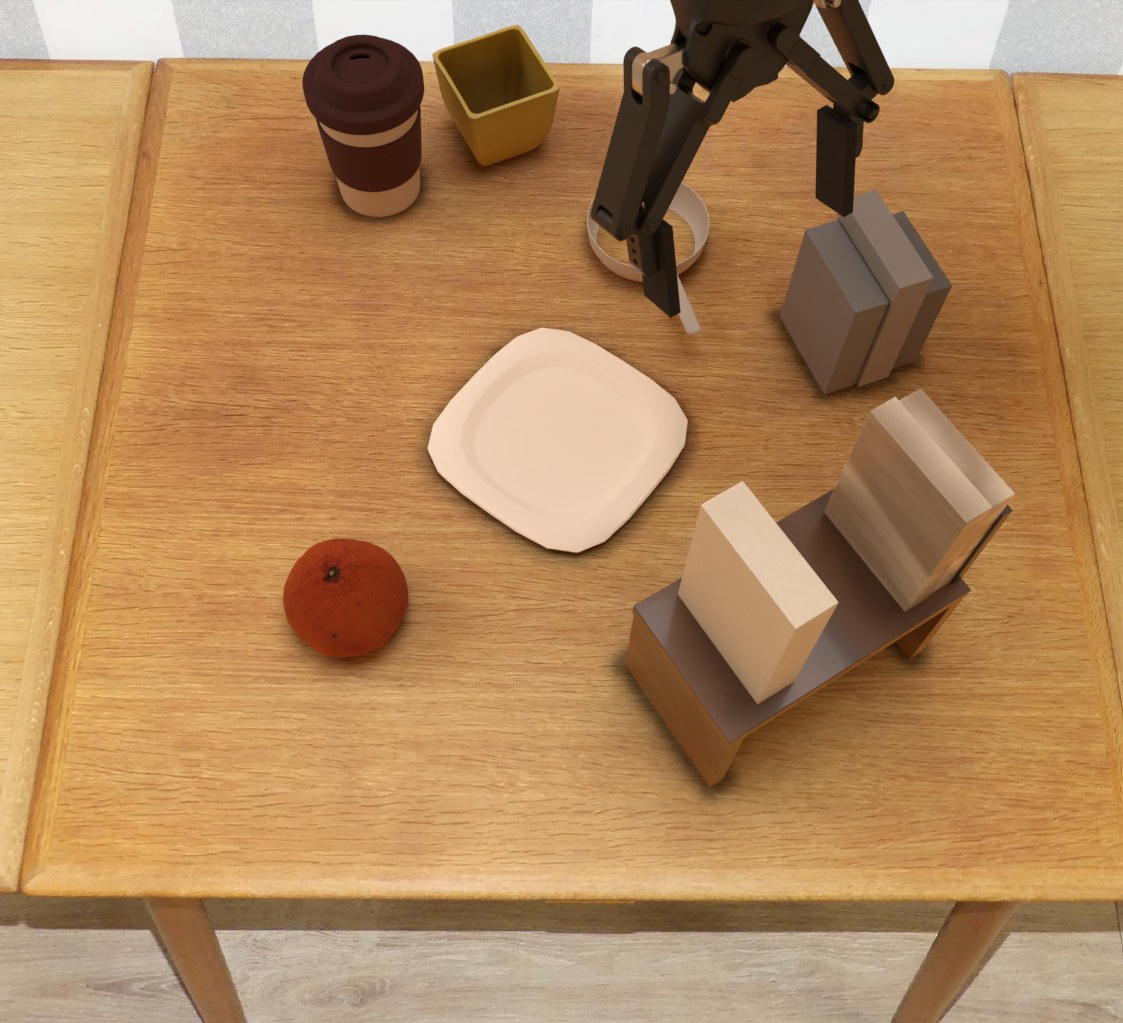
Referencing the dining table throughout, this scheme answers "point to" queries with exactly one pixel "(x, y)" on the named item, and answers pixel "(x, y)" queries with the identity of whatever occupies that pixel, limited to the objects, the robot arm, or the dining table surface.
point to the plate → (558, 439)
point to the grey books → (862, 295)
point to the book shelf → (839, 577)
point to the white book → (753, 592)
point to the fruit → (345, 597)
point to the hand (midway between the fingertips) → (750, 254)
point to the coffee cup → (369, 120)
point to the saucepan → (698, 221)
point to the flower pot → (498, 93)
